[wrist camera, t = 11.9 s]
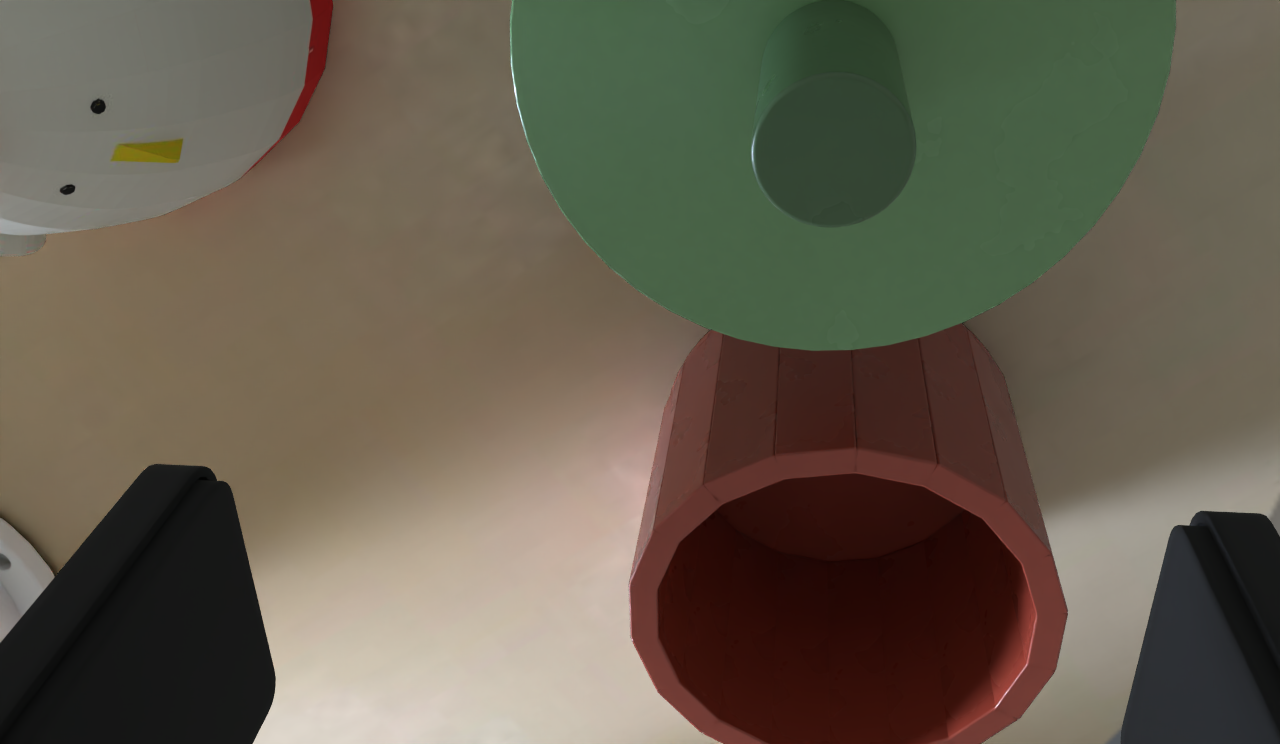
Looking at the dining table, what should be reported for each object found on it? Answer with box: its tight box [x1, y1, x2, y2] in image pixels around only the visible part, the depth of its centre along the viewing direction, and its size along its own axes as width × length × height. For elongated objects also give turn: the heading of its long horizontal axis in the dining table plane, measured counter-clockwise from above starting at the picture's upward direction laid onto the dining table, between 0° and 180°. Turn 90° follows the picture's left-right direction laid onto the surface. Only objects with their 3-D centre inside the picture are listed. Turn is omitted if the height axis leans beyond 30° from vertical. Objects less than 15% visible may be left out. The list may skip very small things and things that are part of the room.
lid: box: [510, 0, 1176, 351], centre depth 21 cm, size 13×13×6 cm
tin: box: [629, 323, 1068, 744], centre depth 36 cm, size 12×12×10 cm
